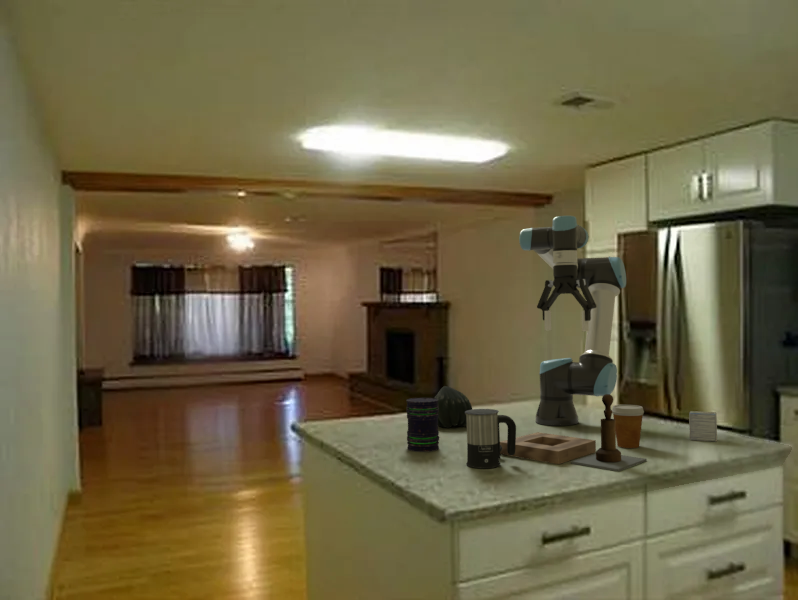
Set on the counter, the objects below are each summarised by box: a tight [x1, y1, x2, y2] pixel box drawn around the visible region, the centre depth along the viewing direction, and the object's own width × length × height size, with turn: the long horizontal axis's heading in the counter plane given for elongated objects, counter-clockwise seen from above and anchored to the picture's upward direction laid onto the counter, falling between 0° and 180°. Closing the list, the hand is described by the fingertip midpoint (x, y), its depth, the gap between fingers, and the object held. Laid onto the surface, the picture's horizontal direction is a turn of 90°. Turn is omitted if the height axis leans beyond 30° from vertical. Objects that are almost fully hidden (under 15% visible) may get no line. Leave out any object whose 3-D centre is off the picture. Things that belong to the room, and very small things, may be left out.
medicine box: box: [688, 410, 718, 443], centre depth 223 cm, size 8×4×9 cm, turn 65°
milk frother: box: [465, 408, 517, 469], centre depth 197 cm, size 14×16×15 cm
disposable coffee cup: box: [611, 404, 645, 449], centre depth 215 cm, size 10×10×12 cm
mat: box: [570, 452, 647, 472], centre depth 194 cm, size 14×16×1 cm
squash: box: [434, 385, 473, 429], centre depth 255 cm, size 14×15×15 cm
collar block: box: [500, 431, 597, 465], centre depth 207 cm, size 20×20×4 cm
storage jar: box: [406, 397, 440, 453], centre depth 216 cm, size 10×10×15 cm
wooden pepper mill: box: [595, 394, 622, 462], centre depth 194 cm, size 7×6×18 cm
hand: (566, 331), depth 226 cm, fingers open, 13 cm apart
